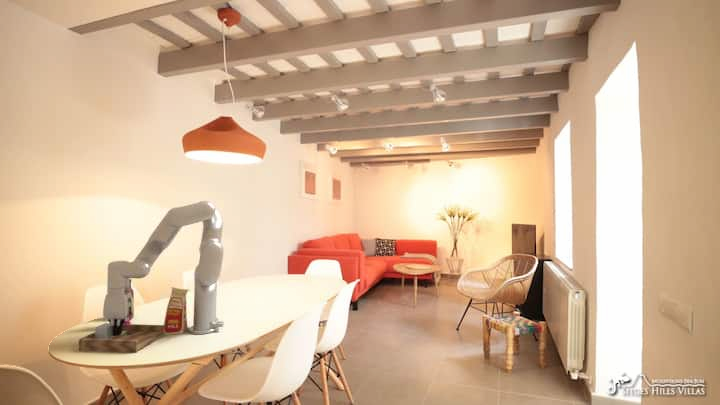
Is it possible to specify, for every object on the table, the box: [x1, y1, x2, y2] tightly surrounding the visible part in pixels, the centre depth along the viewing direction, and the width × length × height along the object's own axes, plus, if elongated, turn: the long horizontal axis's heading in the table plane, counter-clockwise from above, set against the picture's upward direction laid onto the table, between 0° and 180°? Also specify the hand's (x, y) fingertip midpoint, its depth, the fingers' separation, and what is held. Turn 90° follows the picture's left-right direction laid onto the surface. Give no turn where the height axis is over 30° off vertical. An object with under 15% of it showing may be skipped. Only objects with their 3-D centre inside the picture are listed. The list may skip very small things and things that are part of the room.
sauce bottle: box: [129, 278, 135, 319], centre depth 172 cm, size 7×6×20 cm
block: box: [94, 322, 114, 339], centre depth 142 cm, size 5×5×5 cm
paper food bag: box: [163, 286, 189, 336], centre depth 157 cm, size 9×9×20 cm
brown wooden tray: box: [78, 323, 165, 354], centre depth 142 cm, size 23×18×4 cm
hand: (117, 334), depth 142 cm, fingers closed
